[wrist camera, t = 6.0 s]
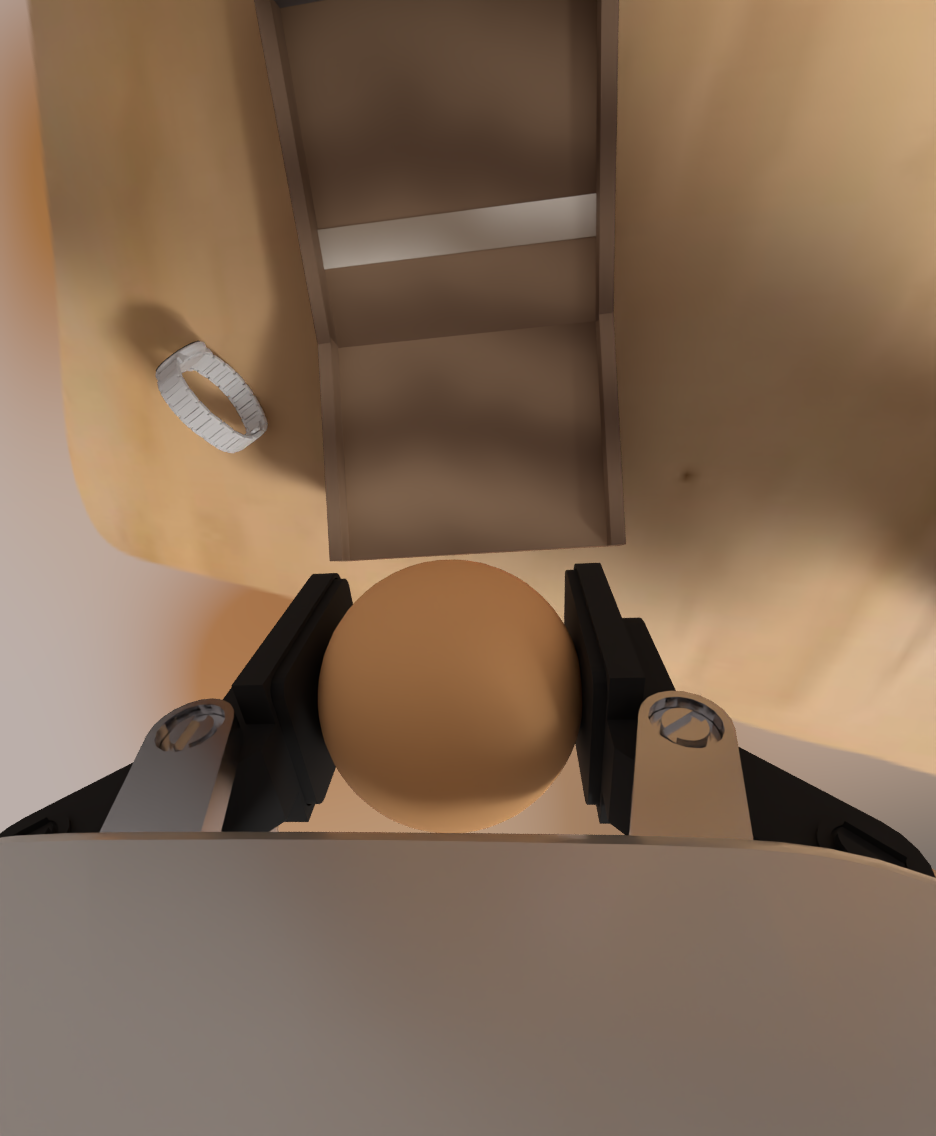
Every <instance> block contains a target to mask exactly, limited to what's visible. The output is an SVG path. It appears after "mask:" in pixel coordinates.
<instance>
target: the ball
mask: <svg viewBox="0 0 936 1136" xmlns="http://www.w3.org/2000/svg"><path fill="white" fill-rule="evenodd" d="M318 712H319V720H320V725H321V730H322V734H323V737H324V741H325V744H326V746H327V749H328V751H329V753H330V756H331V758H332V760H333V762H334V764H335V766H336V768H337V769H338V771H339V772H340V774H341V776H342V777H343V778H344V780H345V781H346V782H347V784H348V785H349V786H350V787H351V788H352V790H353V791H354V792H355V793H356V794H357V795H358V796H359V797H360V798H361V799H362V800H363V801H364V802H366V803H367V804H368V805H370V806H371V807H372V808H373V809H375V810H376V811H378V812H379V813H380V814H382V815H384V816H385V817H387V818H389V819H391V820H393V821H395V822H397V823H400V824H402V825H405V826H408V827H411V828H414V829H418V830H423V831H428V832H435V833H466V832H472V831H477V830H481V829H485V828H489V827H491V826H494V825H496V824H499V823H501V822H504V821H506V820H508V819H510V818H512V817H514V816H516V815H517V814H519V813H520V812H522V811H523V810H525V809H526V808H527V807H529V806H530V805H531V804H532V803H534V802H535V801H536V800H537V799H538V798H539V797H541V796H542V795H543V794H544V792H546V790H547V789H548V788H549V787H550V786H551V784H552V783H553V782H554V781H555V779H556V778H557V777H558V776H559V774H560V772H561V771H562V769H563V768H564V766H565V764H566V762H567V760H568V758H569V756H570V754H571V752H572V750H573V747H574V745H575V742H576V739H577V736H578V732H579V728H580V724H581V719H582V686H581V674H580V667H579V661H578V656H577V652H576V649H575V646H574V643H573V641H572V639H571V637H570V635H569V633H568V630H567V628H566V627H565V625H564V624H563V622H562V620H561V619H560V617H559V616H558V615H557V613H556V612H555V610H554V609H553V608H552V607H551V605H550V604H549V603H548V602H547V601H546V600H545V599H544V598H543V597H542V596H541V595H540V594H539V593H538V592H537V591H535V590H534V589H533V588H532V587H530V586H529V585H528V584H527V583H525V582H524V581H522V580H520V579H519V578H517V577H516V576H514V575H512V574H510V573H508V572H506V571H503V570H501V569H499V568H496V567H493V566H490V565H486V564H483V563H478V562H473V561H465V560H437V561H430V562H424V563H420V564H416V565H413V566H409V567H407V568H405V569H402V570H400V571H398V572H395V573H393V574H391V575H390V576H388V577H386V578H384V579H383V580H381V581H379V582H378V583H376V584H375V585H374V586H372V587H371V588H370V589H369V590H367V591H366V592H365V593H364V594H363V595H362V596H361V597H360V598H359V599H358V600H357V601H356V602H355V603H354V604H353V605H352V606H351V607H350V608H349V609H348V611H347V612H346V614H345V615H344V617H343V618H342V620H341V621H340V623H339V624H338V626H337V627H336V629H335V631H334V633H333V635H332V637H331V639H330V642H329V644H328V646H327V649H326V651H325V654H324V657H323V662H322V666H321V670H320V676H319V682H318Z"/></svg>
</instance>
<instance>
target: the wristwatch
mask: <svg viewBox="0 0 936 1136" xmlns="http://www.w3.org/2000/svg"><path fill="white" fill-rule="evenodd" d="M193 370H195V371H197V372H198V373H199V374H201V375H203V376H204V377H206V378H208V379H209V380H210V381H211V382H212V383H214V384H215V385H216V386H219V385H220V386H219V388H220V390H221V391H222V392H223V393H224V394H225V395H226V396H227V397H228V396H230V397H228V399H229V400H230V401H231V403H232V404H233V405H234V407H237V408H236V410H237V412H238V414H239V415H240V417H241V418H242V419H241V420H242V422H243V424H244V426H245V428H247V429H246V431H247V433H246V434H245V435H243V434H241V433H239V432H237V431H235V430H233V429H232V428H231V427H230V426H229V425H227V424H226V423H225V422H222V420H221V419H220V418H218V417H217V416H216V415H214V414H213V413H212V412H210V410H209V409H208V408H207V407H206V406H205V405H204V404H203V403H202V402H201V401H199V399H198V398H197V396H196V395H195V394H194V393H193V391H192V390H191V389H189V386H188V384H187V383H186V381H185V380H184V378H183V377H182V373H183V372H185V371H193ZM234 373H235V370H234V369H233V368H232V367H230V366H229V365H228V364H227V363H225V362H224V361H223V360H222V359H220V358H219V357H217V356H216V355H213V353H212V352H211V350H210V349H208V348H206V345H205V343H204V342H200V341H196V342H193V343H190V344H188V345H186V346H184V347H183V348H181V349H179V350H178V351H176V352H175V353H173V354H172V355H171V356H169V357H168V358H167V359H166V360H164V361H163V362H162V363H161V364H160V365H159V367H158V368H157V370H156V378H157V379H158V382H157V383H158V387H159V391H160V392H161V395H162V397H163V398H164V400H165V401H166V403H167V404H168V405H169V407H170V408H171V409H172V411H173V412H174V413H175V414H176V415H177V416H178V417H179V418H180V420H181V421H182V422H183V423H184V424H185V425H186V426H188V427H189V428H191V427H192V428H191V430H192V431H193V432H195V433H196V434H197V435H199V436H200V437H203V438H204V439H205V440H206V441H207V442H209V443H210V444H211V445H213V446H215V447H216V448H218V449H219V450H222V451H224V452H228V453H235V452H238V451H241V450H243V449H244V448H246V447H247V446H248V445H250V444H251V443H252V442H254V441H255V440H256V439H258V438H259V437H260V436H261V435H262V434H264V432H265V431H266V430H267V427H268V426H267V425H268V423H267V419H266V417H265V414H264V412H263V409H262V408H261V406H259V405H260V403H259V401H258V400H257V398H256V396H255V395H253V392H252V390H251V389H250V387H249V386H248V385H247V384H244V383H245V381H244V380H243V378H242V377H241V376H240V375H239V374H238V373H237V372H236V373H235V374H234ZM231 381H232V382H231ZM236 384H237V385H236ZM225 386H226V387H225ZM231 388H232V389H231ZM192 412H193V413H192Z"/></svg>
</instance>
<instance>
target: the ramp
mask: <svg viewBox="0 0 936 1136" xmlns="http://www.w3.org/2000/svg"><path fill="white" fill-rule="evenodd" d="M254 2H255V7H256V13H257V18H258V24H259V29H260V34H261V40H262V45H263V51H264V56H265V61H266V67H267V72H268V78H269V83H270V88H271V94H272V99H273V105H274V110H275V115H276V121H277V126H278V132H279V137H280V142H281V148H282V153H283V159H284V164H285V169H286V175H287V180H288V186H289V191H290V196H291V202H292V207H293V213H294V218H295V223H296V229H297V234H298V240H299V245H300V250H301V256H302V261H303V267H304V272H305V277H306V283H307V288H308V294H309V299H310V304H311V310H312V315H313V321H314V326H315V331H316V337H317V342H318V356H319V374H320V392H321V410H322V429H323V447H324V465H325V483H326V501H327V520H328V538H329V556H330V561H358V560H376V559H394V558H411V557H429V556H446V555H464V554H481V553H499V552H516V551H534V550H551V549H569V548H586V547H606V546H619V545H624V544H626V538H625V520H624V501H623V482H622V464H621V445H620V426H619V408H618V389H617V370H616V352H615V333H614V314H613V308H614V251H615V193H616V136H617V78H618V21H619V0H254Z"/></svg>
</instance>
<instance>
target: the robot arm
mask: <svg viewBox="0 0 936 1136" xmlns="http://www.w3.org/2000/svg"><path fill="white" fill-rule="evenodd" d="M352 605H353V602H352V597H351V593H350V588H349V584H348V581H347V580H346V579H341V578H340V576H339V575H338V574H337V573H329V574H313V575H311V577H310V578H309V579H308V581H307V582H306V583H305V585H304V586H303V588H302V589H301V590H300V592H299V593H298V594H297V596H296V597H295V599H294V600H293V601H292V603H291V604H290V606H289V607H288V608H287V610H286V611H285V612H284V614H283V615H282V617H281V618H280V619H279V621H278V622H277V624H276V625H275V626H274V628H273V629H272V631H271V632H270V633H269V634H268V636H267V637H266V639H265V640H264V641H263V643H262V644H261V646H260V647H259V649H258V650H257V651H256V652H255V654H254V655H253V657H252V658H251V659H250V661H249V662H248V663H247V665H246V666H245V668H244V669H243V670H242V672H241V673H240V675H239V676H238V677H237V679H236V680H235V682H234V683H233V684H232V688H231V689H230V691H229V692H228V693H227V695H226V696H225V697H224V699H223V700H220V699H203V700H198V701H195V702H191V703H188V704H186V705H183V706H181V707H179V708H177V709H175V710H173V711H172V712H170V713H168V714H167V715H165V716H164V717H163V718H161V719H160V720H159V721H158V722H157V723H156V724H155V725H154V726H153V727H152V729H151V730H150V731H149V733H148V734H147V736H146V738H145V740H144V742H143V744H142V746H141V748H140V750H139V752H138V754H137V756H136V758H135V760H134V762H133V763H131V764H129V765H128V766H126V767H124V768H122V769H119V770H117V771H116V772H114V773H112V774H110V775H108V776H106V777H104V778H102V779H100V780H98V781H96V782H94V783H92V784H90V785H88V786H86V787H84V788H82V789H80V790H78V791H76V792H74V793H72V794H70V795H68V796H66V797H64V798H62V799H60V800H58V801H56V802H55V803H53V804H51V805H49V806H47V807H45V808H43V809H41V810H39V811H37V812H35V813H33V814H31V815H29V816H27V817H25V818H23V819H22V820H20V821H18V822H17V823H15V824H13V825H11V826H10V827H8V828H7V829H6V830H4V831H3V832H2V833H0V1136H936V871H935V870H933V869H932V868H931V865H930V864H929V863H928V862H927V860H926V859H925V858H924V856H923V855H922V854H921V853H920V851H919V850H918V849H917V848H916V847H915V846H914V845H913V844H912V843H910V842H909V841H908V840H907V839H906V838H905V837H904V836H902V835H901V834H900V833H899V832H897V831H895V830H894V829H892V828H891V827H889V826H887V825H886V824H884V823H883V822H881V821H879V820H877V819H875V818H873V817H872V816H870V815H868V814H866V813H864V812H862V811H860V810H858V809H856V808H854V807H852V806H850V805H849V804H847V803H845V802H843V801H841V800H839V799H837V798H835V797H833V796H831V795H830V794H828V793H826V792H824V791H822V790H820V789H818V788H816V787H814V786H812V785H810V784H808V783H807V782H805V781H803V780H801V779H799V778H797V777H795V776H793V775H791V774H789V773H788V772H786V771H784V770H782V769H780V768H778V767H776V766H774V765H772V764H770V763H769V762H767V761H765V760H763V759H761V758H759V757H757V756H755V755H753V754H751V753H749V752H748V751H746V750H744V749H742V748H740V747H738V742H737V736H736V730H735V727H734V725H733V722H732V719H731V718H730V717H729V716H728V714H727V713H726V712H725V711H724V710H723V709H722V708H721V707H719V706H718V705H716V704H715V703H714V702H712V701H710V700H708V699H706V698H704V697H702V696H699V695H696V694H692V693H688V692H684V691H676V690H675V688H674V686H673V684H672V681H671V679H670V677H669V675H668V673H667V671H666V668H665V666H664V664H663V662H662V660H661V658H660V655H659V653H658V651H657V649H656V647H655V645H654V642H653V640H652V638H651V636H650V634H649V632H648V629H647V627H646V625H645V623H644V621H643V620H642V619H641V618H622V617H621V614H620V612H619V609H618V607H617V604H616V602H615V599H614V597H613V594H612V592H611V589H610V587H609V584H608V581H607V579H606V576H605V574H604V571H603V569H602V566H601V564H600V563H583V564H575V565H574V570H566V571H565V610H564V625H565V627H566V628H567V630H568V633H569V635H570V637H571V639H572V641H573V643H574V646H575V649H576V652H577V656H578V661H579V667H580V674H581V686H582V719H581V724H580V728H579V732H578V736H577V739H576V742H575V744H576V750H577V756H578V761H579V767H580V772H581V779H582V785H583V791H584V796H585V801H586V804H587V805H596V806H597V812H598V817H599V822H600V823H603V824H604V823H605V824H606V823H608V824H612V825H613V826H614V827H616V828H617V829H618V830H620V831H621V832H622V833H624V834H625V835H564V834H491V833H488V834H486V833H381V832H278V825H280V824H281V823H283V822H308V821H309V819H310V816H311V813H312V811H313V808H314V806H315V804H320V803H322V801H323V800H324V798H325V795H326V793H327V790H328V787H329V784H330V782H331V779H332V776H333V773H334V771H335V768H336V766H335V764H334V762H333V760H332V758H331V756H330V753H329V751H328V749H327V746H326V744H325V741H324V737H323V734H322V730H321V725H320V720H319V712H318V682H319V676H320V670H321V666H322V662H323V657H324V654H325V651H326V649H327V646H328V644H329V642H330V639H331V637H332V635H333V633H334V631H335V629H336V627H337V626H338V624H339V623H340V621H341V620H342V618H343V617H344V615H345V614H346V612H347V611H348V609H349V608H350V607H351V606H352Z"/></svg>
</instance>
